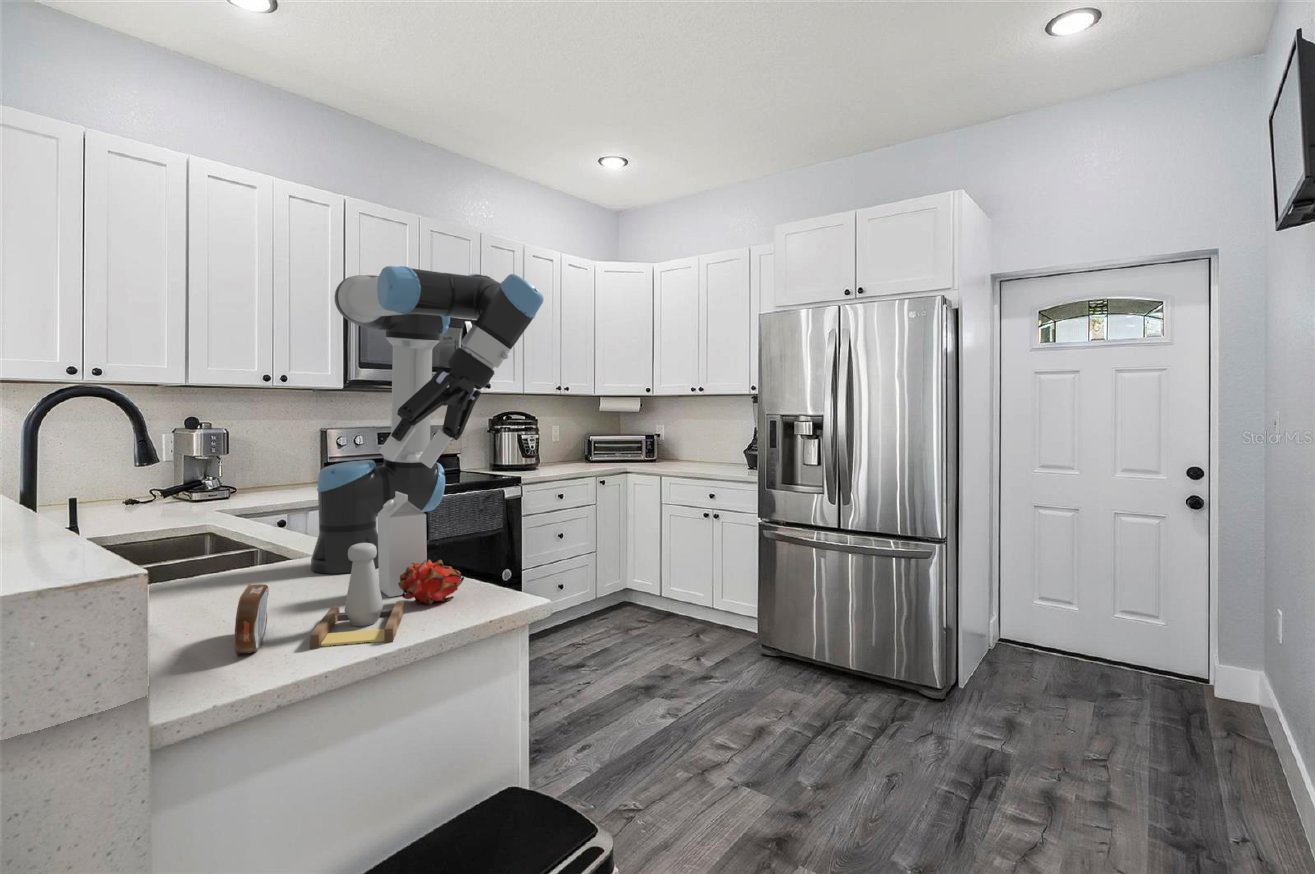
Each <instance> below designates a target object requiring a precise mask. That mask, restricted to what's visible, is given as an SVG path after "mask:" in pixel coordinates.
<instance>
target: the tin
mask: <svg viewBox="0 0 1315 874" xmlns="http://www.w3.org/2000/svg"><path fill="white" fill-rule="evenodd" d="M268 597H269V586H268V585H267V584H263V583H262V584H261V583H260V584H250V583H248V585H247V586H246V588H245V589H244V591H243V592H242V594H241V595H240V597H239V600H238V603H237V608H236V616H235V624H234V653H235V654H236V655H240V654H251V653H256V652H258V650H259V648H260V646H261V644H262V643H263V640H264V637H265V636H266V635H265V633H266V629H267V624H268V612H267V611H268V610H267V607H268Z"/></svg>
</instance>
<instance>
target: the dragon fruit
mask: <svg viewBox="0 0 1315 874" xmlns="http://www.w3.org/2000/svg"><path fill="white" fill-rule="evenodd" d="M412 564H414V566H413V567H412V566H410V567H407V569H406V572H404V573H403V574H402V575H400V582H399V583H398V585H399V587H400V588H401V589H402V590H403V591H404V592H403V594H402V595H401V597H402V598H404V600H411V599H415V603H416V604H417V605H420V604H422V603H425V604H429V605H432V604H433V603H434V602H442V603H443V602H444V603H445V602H446V601H447V602H450V601H451V600H452V599H454V596H450V595H452V594H454V593H455V592H456V591H458V587H459V586H460V585H461V584H463V581H464V579H465V576H463V574H462V573H461V572H460V571H459V570H457V569H453V567H452V566H451V565H450V566H449V565H444V563H443V560H442V559H438V560H437V561H436V562H432V560H431V559H427V561H426V560H425V561H423V563H422V564H419V563H417V562H414V563H412ZM405 593H406V594H405ZM404 594H405V595H404ZM447 596H448V597H447Z"/></svg>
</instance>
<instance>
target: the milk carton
mask: <svg viewBox="0 0 1315 874" xmlns="http://www.w3.org/2000/svg"><path fill="white" fill-rule="evenodd" d="M377 533H378V565H379V567H378V583H379V588H380V592H381V593H384V595H386V596H387V597H389V598H392V597H399V596H402V594H403V592H404V591H403V590H402V589H401V588H400V587H399V585H398V583H399V582H400V575H402V574H403V573H404V572H406V569H407V567H410V566H412V567H413V566H414V564H412V563H414V562H417V563H419V564H422V563H423V561H425V560H426V561H428V559H427V556H428V555H427V514H426V513H425V512H422V511H421V510H419V509H418V508H417V507H415V506H414V505H413V504H411V503H410V502H409V501H408V495H406V494H403V493H399V492H395V498H394V499H393V500H392V499H391V500H389V501H387V502H386V503H385V504H384V505H383V509H382V510H381V511H380V512H379V513H378V517H377ZM405 595H406V593H405V594H404V596H405Z"/></svg>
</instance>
